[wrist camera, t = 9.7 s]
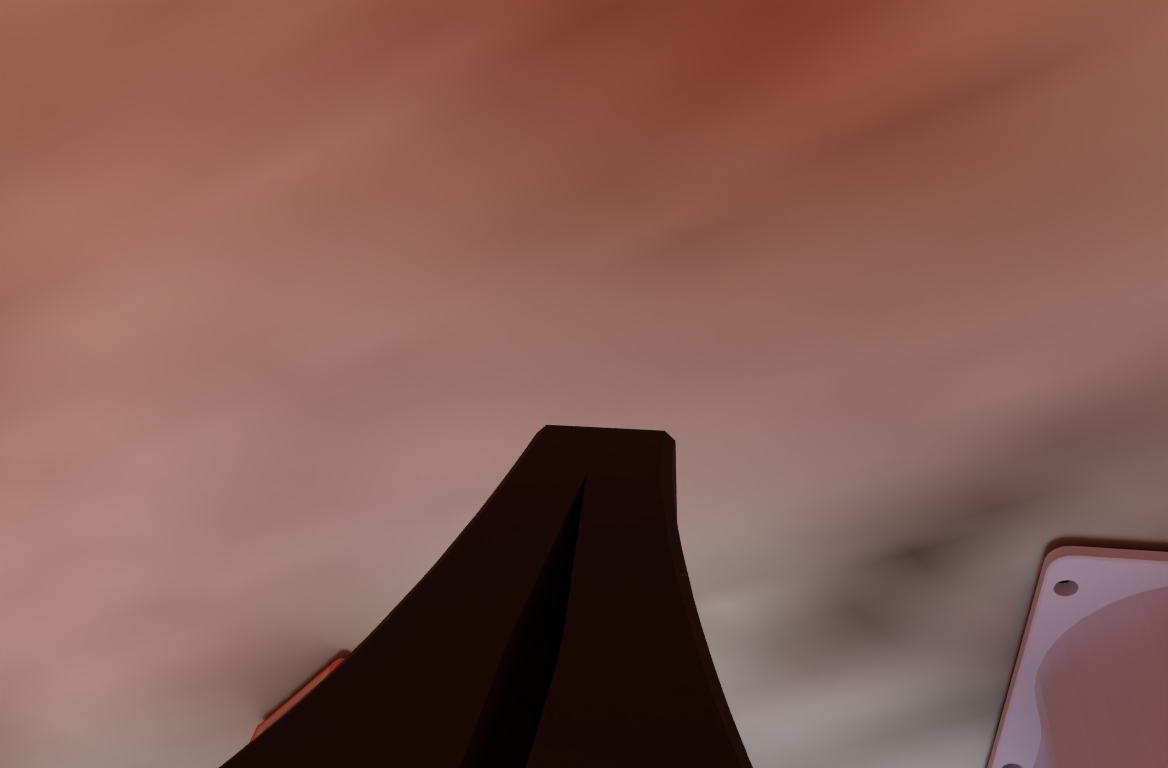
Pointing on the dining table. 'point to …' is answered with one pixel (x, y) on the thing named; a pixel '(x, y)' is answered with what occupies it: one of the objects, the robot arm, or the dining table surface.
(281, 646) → the dining table surface
